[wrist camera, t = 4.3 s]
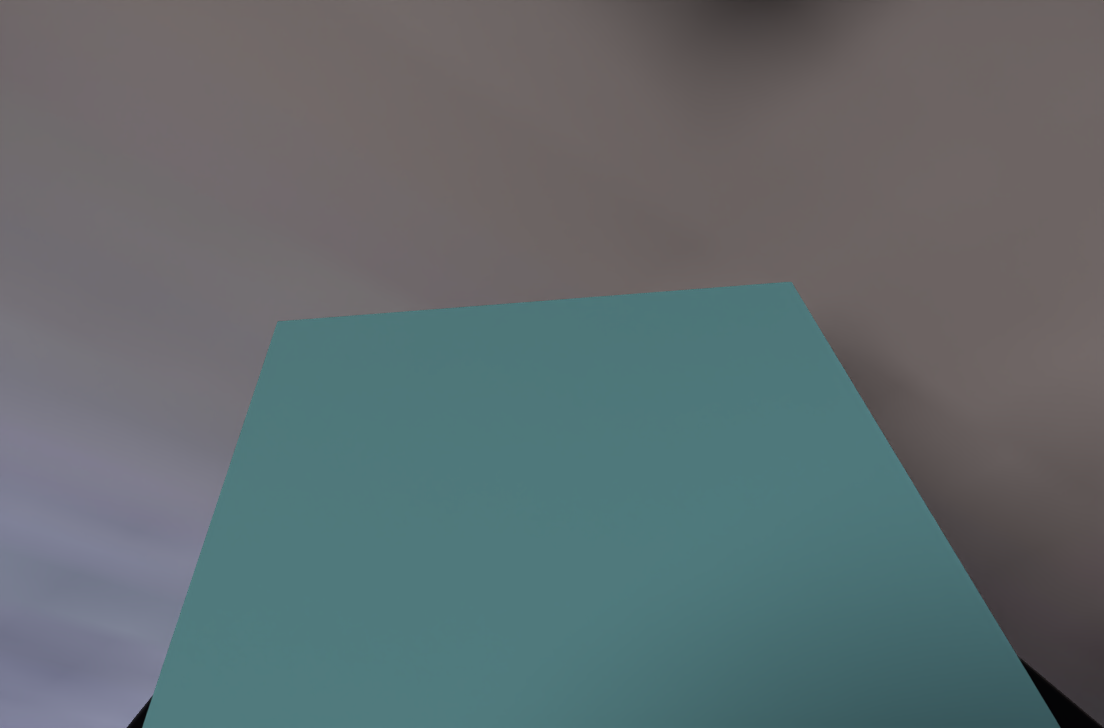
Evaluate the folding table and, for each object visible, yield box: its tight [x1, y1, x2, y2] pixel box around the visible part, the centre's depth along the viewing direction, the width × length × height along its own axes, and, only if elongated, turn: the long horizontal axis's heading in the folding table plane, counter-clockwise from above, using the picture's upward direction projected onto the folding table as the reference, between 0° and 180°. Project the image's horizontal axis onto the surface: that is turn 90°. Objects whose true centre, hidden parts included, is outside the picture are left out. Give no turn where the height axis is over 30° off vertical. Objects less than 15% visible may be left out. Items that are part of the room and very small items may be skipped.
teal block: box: [142, 282, 1060, 728], centre depth 8 cm, size 5×5×5 cm
